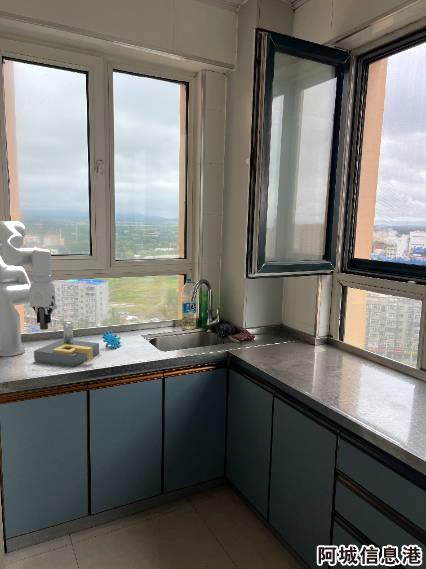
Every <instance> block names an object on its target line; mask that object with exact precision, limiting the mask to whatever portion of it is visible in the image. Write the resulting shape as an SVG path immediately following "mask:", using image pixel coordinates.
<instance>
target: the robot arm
mask: <svg viewBox="0 0 426 569" xmlns="http://www.w3.org/2000/svg"><path fill="white" fill-rule="evenodd" d="M26 230H27V229H26V227H25V225H24V224H23V223H22V222H20V221H18V220H15V221H14V220H0V247H1V251H2V254H3V256H2V255H1V254H0V357H14V356H18V355H21V354H23V353H25V352H26V348H25V346H24V347H23V346H22V331H21V329H22V328H21V316H20V313H19V311H18V310H17V309H16V308H15V306H19V305H27V304H29V307H31V308H32V309H33V311H34V313H35V315H36V323H37V324H40V318H39V307H43V308H45V315H44V323H45V324H48V325H49V324H50V323H52V318H51V317H52V313H53V312H54V311H55V310H56V309H58V306H57V305H58V304H57V303H56V301H57V299H56V291H55V285H54V283H53V277H52V276H53V273H52V253H51V250H49V249H46V248H44V249H43V248H41V247H23V248H22V246H23V244H24V241H25V240H24V238H25V236H26V233H27V231H26ZM5 260H6V262H8V263H9V264H7V263H5ZM30 266H31V276H30V278H29V276H28V274H27V272H26V270H25V268H24V267H30ZM30 279H31V280H30ZM31 281H32V282H31Z"/></svg>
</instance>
